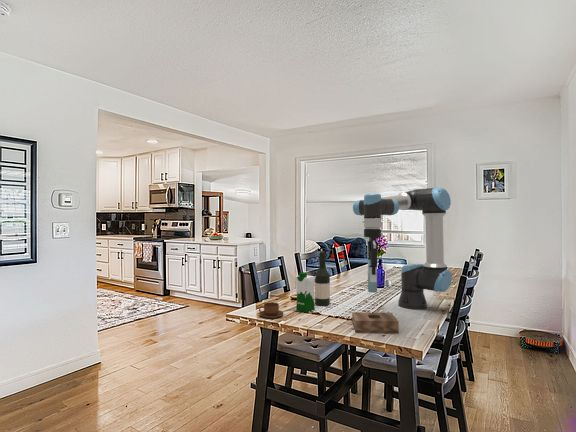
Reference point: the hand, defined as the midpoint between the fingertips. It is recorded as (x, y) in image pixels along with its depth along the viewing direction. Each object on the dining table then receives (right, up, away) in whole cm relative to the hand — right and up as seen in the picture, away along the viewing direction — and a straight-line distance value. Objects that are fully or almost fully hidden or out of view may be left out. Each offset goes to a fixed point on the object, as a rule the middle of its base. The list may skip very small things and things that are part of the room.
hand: (372, 280), depth 164 cm
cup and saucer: (-46, -21, +19) cm, 54 cm away
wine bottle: (-18, -21, +43) cm, 51 cm away
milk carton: (-28, -21, +30) cm, 47 cm away
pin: (0, -5, 0) cm, 5 cm away
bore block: (+1, -21, -1) cm, 21 cm away
